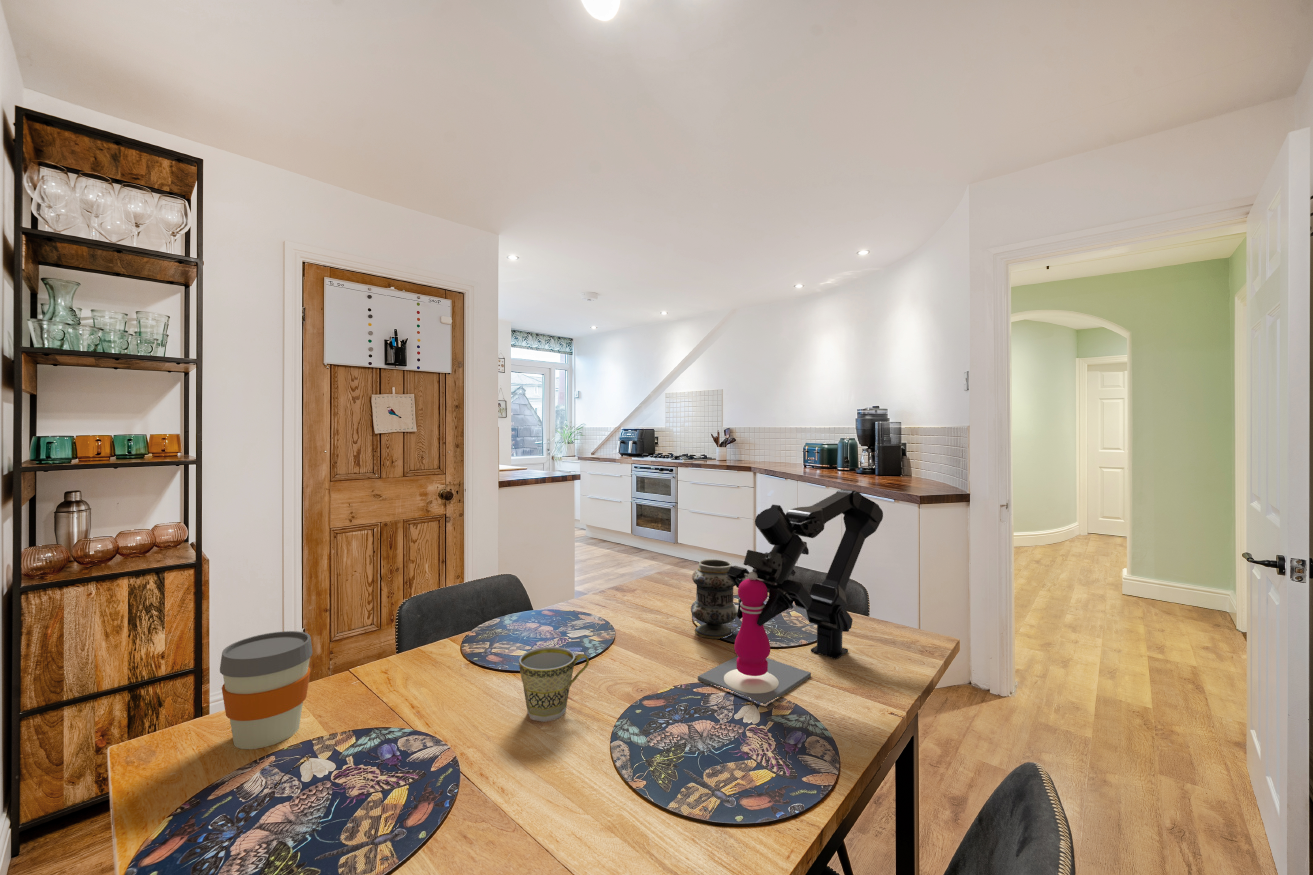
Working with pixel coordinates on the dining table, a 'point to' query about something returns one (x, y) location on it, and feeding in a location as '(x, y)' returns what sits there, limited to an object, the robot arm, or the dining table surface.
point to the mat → (756, 679)
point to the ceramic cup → (548, 680)
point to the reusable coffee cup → (265, 686)
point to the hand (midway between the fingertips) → (748, 621)
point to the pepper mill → (752, 628)
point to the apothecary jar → (713, 599)
